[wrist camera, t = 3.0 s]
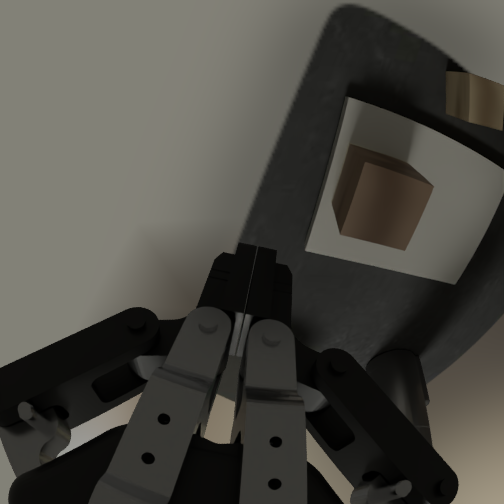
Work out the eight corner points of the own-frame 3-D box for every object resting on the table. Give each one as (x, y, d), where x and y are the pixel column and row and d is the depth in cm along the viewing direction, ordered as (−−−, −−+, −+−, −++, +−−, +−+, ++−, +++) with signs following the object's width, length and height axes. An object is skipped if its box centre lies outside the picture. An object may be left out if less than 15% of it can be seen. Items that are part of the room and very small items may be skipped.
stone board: (503, 169, 21) (510, 174, 20) (450, 276, 30) (455, 284, 29) (345, 96, 21) (348, 97, 20) (304, 242, 31) (305, 250, 29)
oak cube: (478, 80, 17) (503, 85, 13) (477, 120, 19) (502, 130, 16) (445, 71, 17) (469, 73, 14) (445, 113, 20) (468, 122, 16)
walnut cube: (407, 162, 22) (434, 186, 17) (386, 216, 26) (404, 251, 21) (348, 142, 22) (365, 161, 17) (331, 201, 26) (339, 234, 21)
